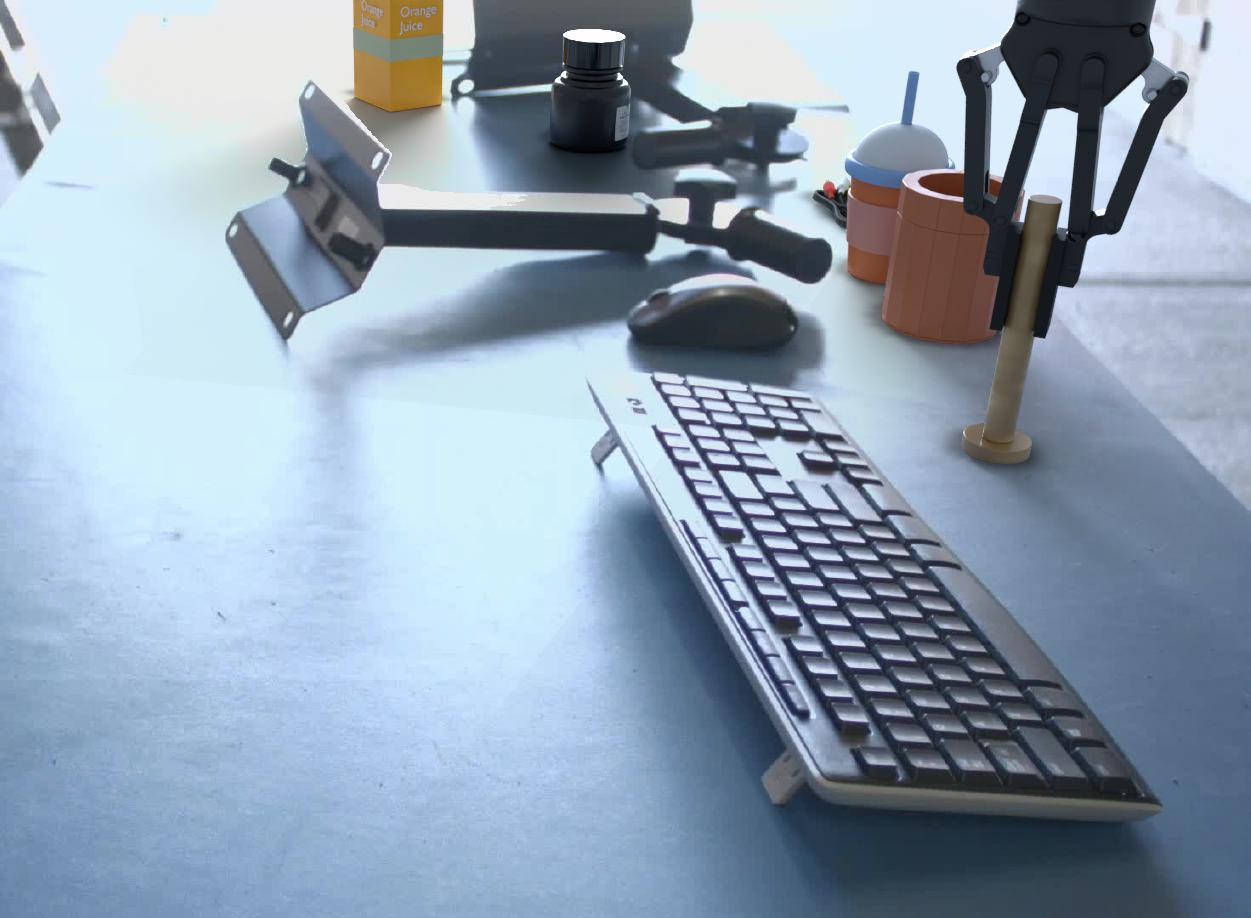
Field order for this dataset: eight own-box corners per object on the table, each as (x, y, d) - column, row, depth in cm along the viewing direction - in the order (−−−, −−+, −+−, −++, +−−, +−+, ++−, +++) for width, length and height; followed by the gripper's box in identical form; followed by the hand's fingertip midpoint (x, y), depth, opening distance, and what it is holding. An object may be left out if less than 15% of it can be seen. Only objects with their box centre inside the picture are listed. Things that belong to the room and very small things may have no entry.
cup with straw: (815, 261, 137) (842, 60, 129) (912, 259, 138) (944, 59, 130) (850, 298, 129) (881, 86, 121) (953, 295, 130) (990, 84, 122)
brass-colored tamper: (1032, 450, 104) (1086, 195, 95) (1023, 477, 100) (1079, 213, 92) (965, 437, 105) (1013, 185, 97) (954, 463, 102) (1003, 203, 94)
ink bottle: (639, 152, 169) (647, 43, 164) (563, 156, 167) (569, 46, 162) (610, 130, 177) (617, 25, 172) (538, 134, 176) (542, 28, 170)
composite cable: (863, 229, 146) (866, 204, 145) (812, 225, 147) (815, 201, 146) (859, 199, 154) (862, 175, 153) (811, 196, 155) (814, 172, 154)
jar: (1003, 320, 125) (1031, 178, 120) (987, 358, 118) (1015, 209, 112) (892, 301, 129) (915, 163, 123) (870, 337, 121) (892, 192, 116)
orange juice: (405, 89, 194) (406, -75, 185) (443, 104, 187) (445, -66, 178) (352, 97, 190) (350, -71, 181) (388, 112, 184) (388, -61, 175)
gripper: (1240, -51, 88) (1148, 328, 98) (971, -70, 94) (912, 289, 104) (1238, -32, 82) (1140, 369, 92) (951, -54, 88) (890, 325, 98)
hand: (1020, 326), depth 98 cm, fingers closed on brass-colored tamper, 2 cm apart
